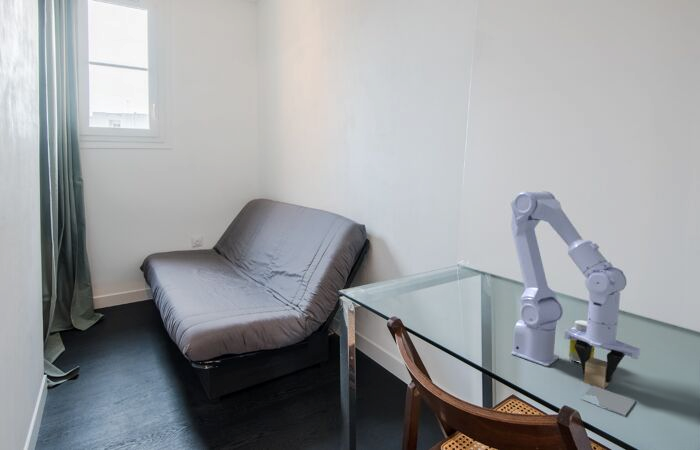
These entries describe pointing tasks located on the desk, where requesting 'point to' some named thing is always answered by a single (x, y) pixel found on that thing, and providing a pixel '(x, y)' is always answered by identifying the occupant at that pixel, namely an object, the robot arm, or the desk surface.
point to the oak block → (596, 373)
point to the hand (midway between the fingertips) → (596, 377)
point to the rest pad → (611, 400)
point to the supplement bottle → (573, 354)
